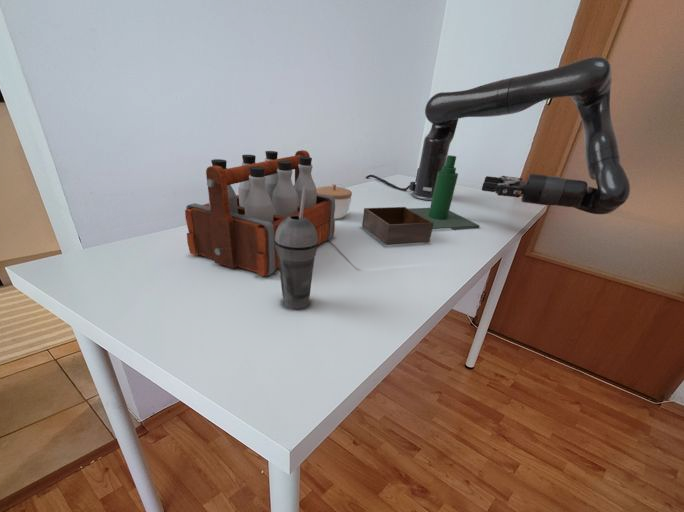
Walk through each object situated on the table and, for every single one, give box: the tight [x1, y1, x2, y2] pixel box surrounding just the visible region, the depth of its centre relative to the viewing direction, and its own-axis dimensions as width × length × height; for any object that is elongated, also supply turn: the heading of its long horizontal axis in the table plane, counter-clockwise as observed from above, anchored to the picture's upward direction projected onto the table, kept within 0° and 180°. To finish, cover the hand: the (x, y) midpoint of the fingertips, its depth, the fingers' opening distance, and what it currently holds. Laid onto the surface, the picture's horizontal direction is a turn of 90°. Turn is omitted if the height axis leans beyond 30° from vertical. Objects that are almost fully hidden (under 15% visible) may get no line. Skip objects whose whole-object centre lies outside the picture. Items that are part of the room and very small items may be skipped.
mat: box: [409, 207, 480, 230], centre depth 117 cm, size 20×18×1 cm
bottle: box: [428, 154, 459, 220], centre depth 111 cm, size 6×6×18 cm
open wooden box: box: [361, 206, 434, 246], centre depth 100 cm, size 15×13×6 cm
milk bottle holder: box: [184, 150, 336, 277], centre depth 83 cm, size 21×35×19 cm, turn 153°
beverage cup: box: [274, 187, 319, 310], centre depth 61 cm, size 7×7×20 cm
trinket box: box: [316, 184, 353, 220], centre depth 108 cm, size 11×11×9 cm
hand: (483, 183), depth 107 cm, fingers open, 8 cm apart
